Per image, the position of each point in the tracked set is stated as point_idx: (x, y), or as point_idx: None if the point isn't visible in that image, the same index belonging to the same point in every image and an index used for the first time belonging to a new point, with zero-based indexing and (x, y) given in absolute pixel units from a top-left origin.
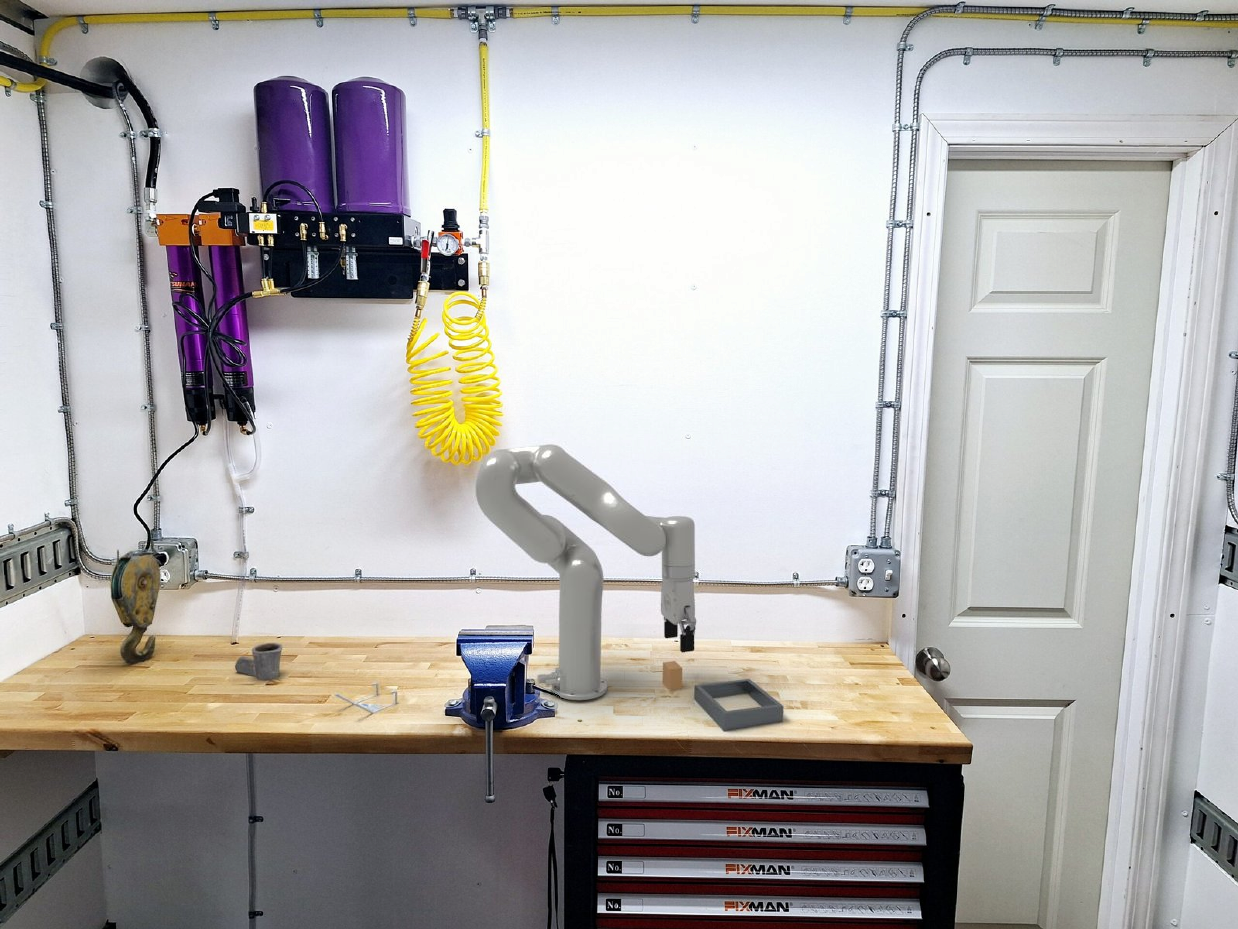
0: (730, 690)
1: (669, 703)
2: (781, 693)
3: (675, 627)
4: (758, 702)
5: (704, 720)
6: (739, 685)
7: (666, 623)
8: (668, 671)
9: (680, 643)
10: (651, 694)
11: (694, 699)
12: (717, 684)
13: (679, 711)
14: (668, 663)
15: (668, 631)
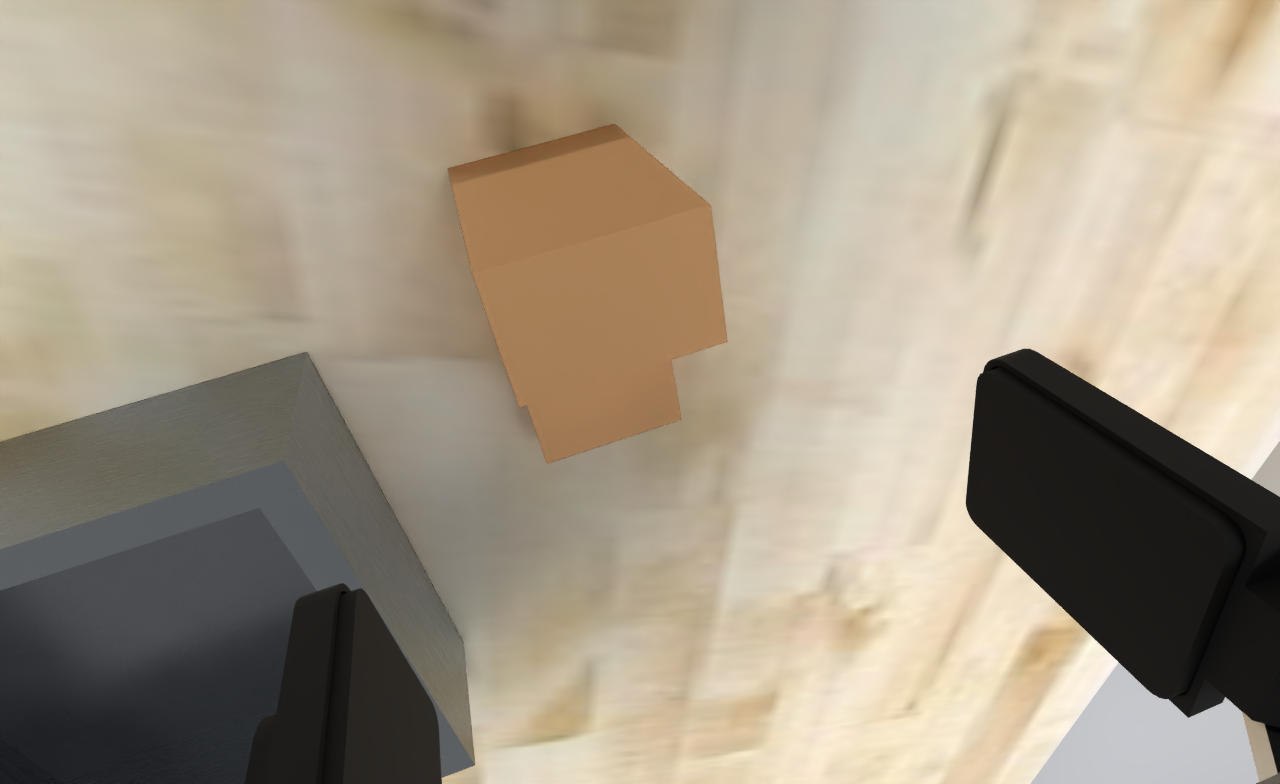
0: None
1: (352, 158)
2: (557, 749)
3: (1083, 597)
4: None
5: (35, 412)
6: None
7: (1213, 540)
8: (516, 242)
9: (310, 713)
10: (552, 4)
11: (291, 387)
12: None
13: (179, 230)
14: (665, 268)
15: (1056, 465)
